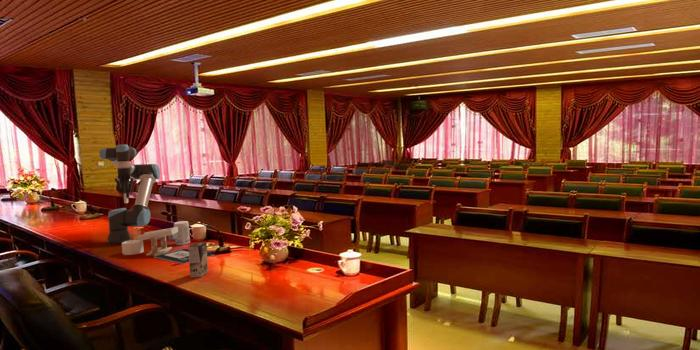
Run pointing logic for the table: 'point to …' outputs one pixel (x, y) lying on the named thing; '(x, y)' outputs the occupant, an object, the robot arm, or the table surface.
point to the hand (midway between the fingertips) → (126, 202)
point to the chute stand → (159, 249)
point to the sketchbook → (177, 256)
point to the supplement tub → (182, 233)
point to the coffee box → (198, 259)
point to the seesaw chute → (160, 234)
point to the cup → (132, 247)
